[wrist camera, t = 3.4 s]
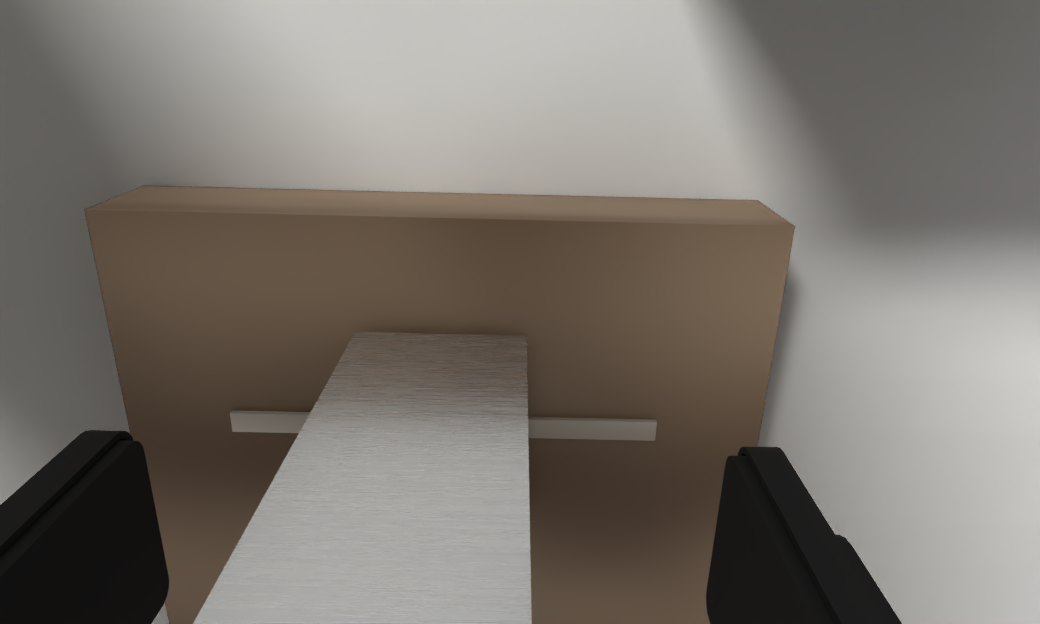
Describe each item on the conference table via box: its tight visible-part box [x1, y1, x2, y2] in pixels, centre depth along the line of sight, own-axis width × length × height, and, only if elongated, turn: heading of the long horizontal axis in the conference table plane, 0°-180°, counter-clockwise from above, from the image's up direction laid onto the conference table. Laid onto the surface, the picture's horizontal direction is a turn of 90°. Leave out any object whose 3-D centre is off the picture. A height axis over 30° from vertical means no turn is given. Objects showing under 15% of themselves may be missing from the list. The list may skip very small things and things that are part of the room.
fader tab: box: [193, 332, 532, 624], centre depth 10 cm, size 4×3×7 cm
